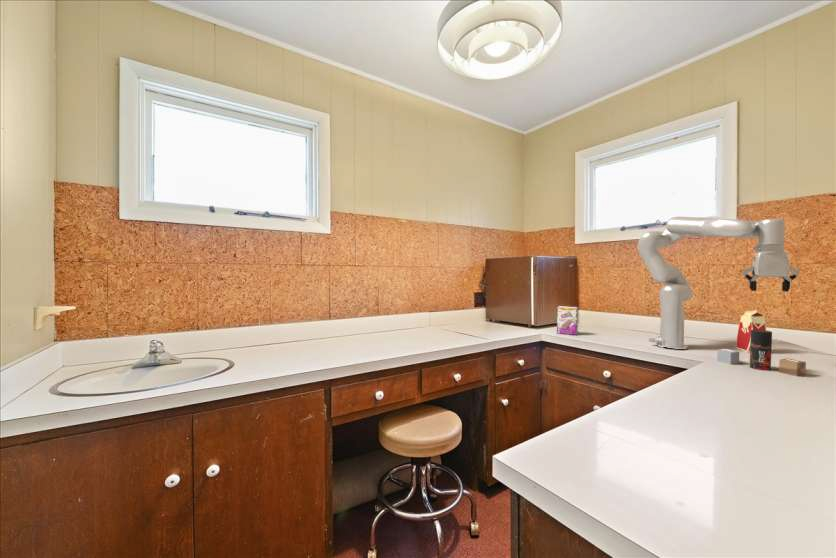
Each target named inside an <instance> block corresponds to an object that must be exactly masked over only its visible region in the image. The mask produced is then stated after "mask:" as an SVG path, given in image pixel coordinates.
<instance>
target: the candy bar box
mask: <svg viewBox="0 0 836 558" xmlns="http://www.w3.org/2000/svg"><path fill="white" fill-rule="evenodd" d="M578 318H579V307H577V306H564V305H563V306H561V305H558V306H557V307H556V334H557V333H560V334H559V335H567V334H573V335H572V336H578V334H579V333H578V331H579V330H578V329H579V328H578V327H579V325H578V323H579V319H578Z"/></svg>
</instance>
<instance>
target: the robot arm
mask: <svg viewBox="0 0 836 558" xmlns="http://www.w3.org/2000/svg"><path fill="white" fill-rule="evenodd" d="M785 229H786V221H785V219H783V218H766V219H761V220H747V219H733V218H731V219H730V218H729V219H728V218H712V217H698V216H697V217H695V216H672V217H671V218H669V219H668V220H667V221H666V223H665V229H663V230H661V231H659V230H651V231H647V232H645V233H643V234H642V235H641V236H640V238H639V240H638V242H637V252H638V254H639V256H640V258H641V260H642V261H643V263H644V265H645V267H646V269H647V270H648V272H649V274H650V276H651V279H652V280H653V281H654V282H656V283H657V284H664V286H663V287H662V288H661V289H660V291H659V295H658V298H659V303H660V324H659V325H660V327H659V328H660V330H659V331H660V332H659V336H658V335H657V337H656V338H654V337H649V338H648V341H649V343H656V344H657V345H660V346H664V347H669V348H677V349H685V350H687V349H686V348H689V347H688V345H686V344H685V307H684V302H688V301H689V300H690V299H691V298H692V297H693V289H692V287H691V285H690V284H689V281H688V279H686V277H685V275H684V274H683V272H682V271H681V269H680V268H678V267H677V266H676V265H674V264H668V263H667V261H666V260H665V258H664V256H663V255H662V253H661V252H660V251H659V250H658V248H659V249H662V248H667V247H669V246H671V245H672V244H674V243H676V242H677V241H679V240H681V239H683V238H684V237H686V236H694V237H695V236H696V237H724V238H737V239H755V238H757V245H756V246H753V247H752V250H753V251H756V253H754V257H753V260H752V266H750V267H748V268H745V269H743V270H741V274H742V275H743V277H744V278H745V279H747V280H748V281H749V286H748V287H749V289H750V291H752V292H756V291H757V281H756V280H757V279H759V278H781V279H782V280H783V281H782V283H781V291H782V292H786V293H787V292H789V290H790V289H791V282H792V281H793V280H794V279H796V278H797V277H798V276H799V273H800V272H801V271H800V270H799V269H796V268H793V267H791V266H790V260H789V255H788V252H786V251H785V234H786V233H785V231H786V230H785ZM749 272H751V274H752V275H750V274H749ZM790 272H792V273H790ZM657 345H656V346H657Z"/></svg>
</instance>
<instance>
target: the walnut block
mask: <svg viewBox="0 0 836 558" xmlns="http://www.w3.org/2000/svg"><path fill="white" fill-rule="evenodd" d="M806 365H807V361H802V360H798V359H793V358H790V357H789V358H782V359H779V365H778V373H781V374H785V375H789V376H794V377H800V376H801V375H802V376H806V368H807V367H806ZM802 376H801V377H802Z"/></svg>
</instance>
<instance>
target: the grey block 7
mask: <svg viewBox="0 0 836 558" xmlns="http://www.w3.org/2000/svg"><path fill="white" fill-rule="evenodd" d="M716 361H717V362H719V363H724V364H728V365H736V364H740V351H737V350H732V349H730V348H729V349H727V348H721V349H717V353H716Z"/></svg>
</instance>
